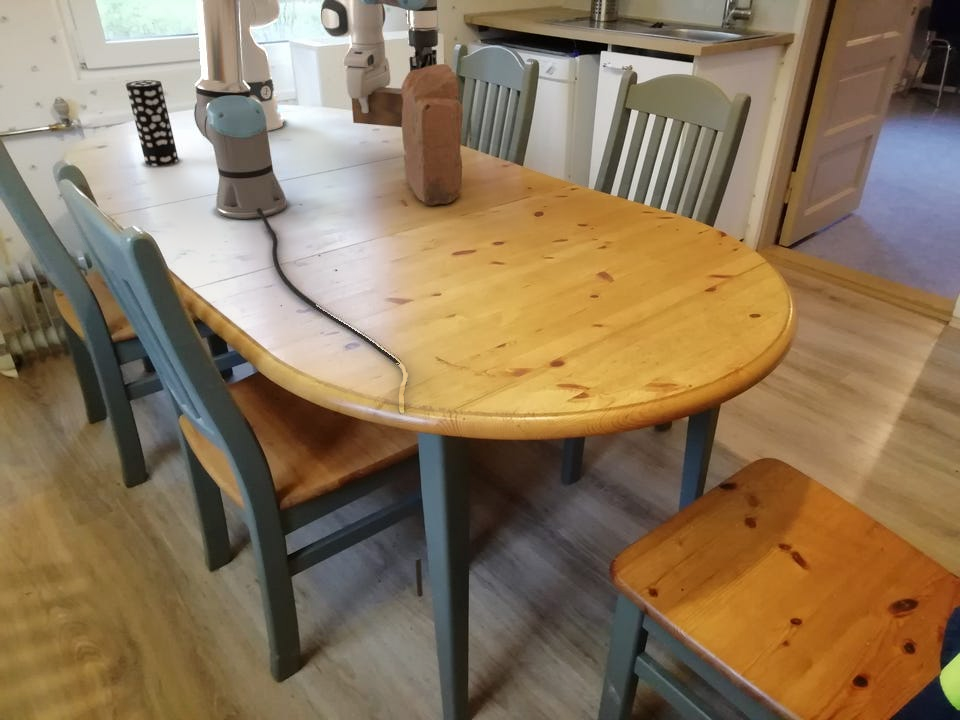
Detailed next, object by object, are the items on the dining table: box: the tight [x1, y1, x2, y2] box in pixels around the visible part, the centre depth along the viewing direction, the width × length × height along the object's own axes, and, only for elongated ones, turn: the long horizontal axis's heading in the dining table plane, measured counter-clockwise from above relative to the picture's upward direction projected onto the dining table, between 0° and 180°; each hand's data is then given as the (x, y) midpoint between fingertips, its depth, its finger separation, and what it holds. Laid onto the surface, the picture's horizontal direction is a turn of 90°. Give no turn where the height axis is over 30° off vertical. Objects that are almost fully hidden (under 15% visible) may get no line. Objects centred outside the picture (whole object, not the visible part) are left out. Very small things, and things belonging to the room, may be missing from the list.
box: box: [350, 86, 403, 128], centre depth 184 cm, size 24×6×8 cm, turn 74°
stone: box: [400, 63, 464, 206], centre depth 161 cm, size 22×11×28 cm, turn 18°
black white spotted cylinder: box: [125, 79, 179, 167], centre depth 181 cm, size 8×8×20 cm
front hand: (425, 121), depth 184 cm, fingers open, 8 cm apart
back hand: (371, 109), depth 186 cm, fingers closed on box, 6 cm apart
